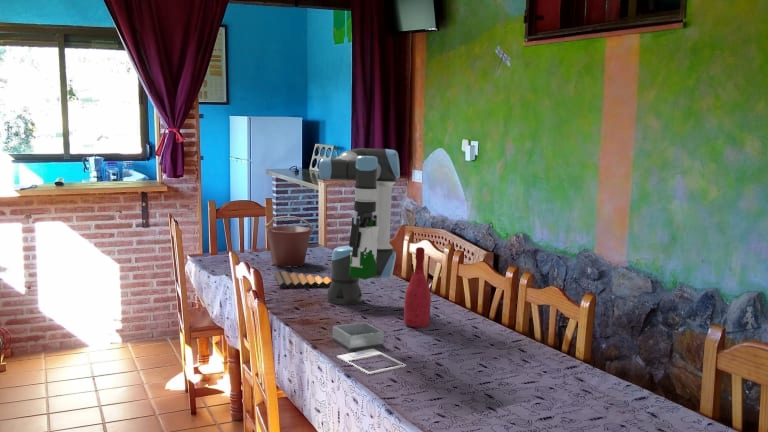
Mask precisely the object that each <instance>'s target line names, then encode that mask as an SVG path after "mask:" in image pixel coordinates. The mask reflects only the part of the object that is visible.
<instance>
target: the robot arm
mask: <svg viewBox="0 0 768 432" xmlns="http://www.w3.org/2000/svg"><path fill="white" fill-rule="evenodd" d="M400 168H401V167H400V158H399V153H398V151H396V150H395V149H388V148H367V147H366V148H364V147H363V148H362V147H360V148H353V149H349V150H346V151H343V152H342V153H340V154H339V155H338V157H336V158H321V159H320V160H319V163H318V176H319V178H320V179H321V180H328V181H330V180H331V181H353V182H354V183H355V185H354V200H355V201H354V203H353V207H354V209H353V210H354V212H356V213H357V215H356V217H352V218H351V226H352V228H351V233H350V236H349V240H348V241H349V242H348V245H342V246H337V247H335V248H334V249H333V250H332V255H331V278H330V279H331V285H330V287H328V291H327V294H326V302H328V303H331V304H334V305H343V306H345V305H347V306H348V305H349V306H350V305H357V304H360V303H362V302H363V294H362V290H361V286H360V283H359V282H360V278H354V277H349V269H350V256H351V247H352V248H353V253H352V266H356V267H360V250H361V248H359V246H360V242H361V232H359V228H366V226H368V221H370V222H371V221H372V220H373V225H374V226H379V231H378V238H377V260H376V276H375V277H372V278H371V279H379V280H381V279H382V280H388V279H390V278H392V276H393V272H394V267H395V263H396V258H397V256H396V255H397V252H396V251H394V250H393V248H394V247H393V246H392V244H391V243H390V242H391V241H390V238H391V217H392V216H391V215H392V214H391V213H392V193H393V186H394V184H396V183H397V179H400V176H401V174H400V173H401V170H400Z"/></svg>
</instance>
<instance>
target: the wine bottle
mask: <svg viewBox="0 0 768 432" xmlns="http://www.w3.org/2000/svg"><path fill="white" fill-rule="evenodd" d="M414 258H415V268H414V272H413V274H412V277H411V279H410V280H409V283H408V284H407V287H406V291H405V295H404V309H403V310H404V311H403V312H404V313H403V314H404V315H403V320H404V324H405V325H406V326H407V327H411V328H417V329H418V328H419V329H420V327H422V328H426V327H427V326H429V323H430V317H431V304H432V303H431V301H432V297H431V289H430V285H429V284H428V280H427V278H426V276H425V271H424V260H425V248H424V247H422V246H421V247H418V246H417V247H416V249H415V257H414Z"/></svg>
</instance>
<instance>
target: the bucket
mask: <svg viewBox="0 0 768 432" xmlns="http://www.w3.org/2000/svg"><path fill="white" fill-rule="evenodd" d="M287 218H289V219H296V220H299V221H301V222H303V223H305V224H307V225H308V227H305V226H299V225H276V226H271V225H272V224H273V222H274V220H278V219H287ZM269 226H270V227H269ZM264 228H265V230H266V235H267V242H268V247H269V252H270V258H271V264H272V263H273V265H274V264H275V265H274V266H276V265H277V266H291V267H293V266H300V267H302V266H301V265H304V266H305V262H306V256H307V251H308V248H309V242H310V239H311V238H310V237H311V233H312V231H313V230H314V227H313V225H312V224H311V223H310V222H309V221H307V220H305V219H303V218H302V217H298V216H294V215H293V216H292V215H284V216H283V215H282V216H276V217H272V219H271V220H270V221H269V222H267V223H265V224H264ZM277 266H276V267H277ZM293 268H294V267H293Z"/></svg>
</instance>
